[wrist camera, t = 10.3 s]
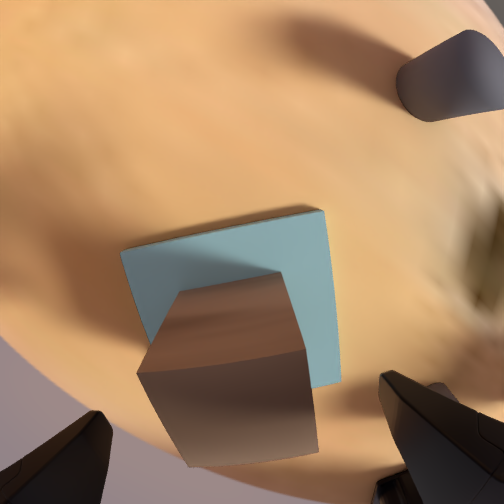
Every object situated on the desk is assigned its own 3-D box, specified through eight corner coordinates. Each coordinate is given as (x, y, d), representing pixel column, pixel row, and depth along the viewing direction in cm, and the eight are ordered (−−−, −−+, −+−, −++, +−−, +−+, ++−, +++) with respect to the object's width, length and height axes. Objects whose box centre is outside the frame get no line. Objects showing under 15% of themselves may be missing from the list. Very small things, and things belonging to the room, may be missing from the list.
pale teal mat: (338, 374, 15) (341, 381, 14) (179, 400, 15) (177, 407, 15) (320, 209, 13) (323, 211, 12) (124, 249, 13) (119, 253, 13)
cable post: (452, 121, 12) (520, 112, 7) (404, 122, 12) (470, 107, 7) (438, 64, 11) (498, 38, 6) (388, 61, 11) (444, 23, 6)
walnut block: (295, 357, 14) (318, 452, 8) (205, 372, 14) (188, 467, 8) (281, 271, 13) (305, 349, 7) (179, 291, 13) (136, 373, 7)
